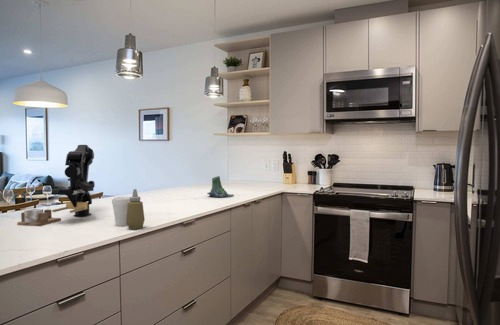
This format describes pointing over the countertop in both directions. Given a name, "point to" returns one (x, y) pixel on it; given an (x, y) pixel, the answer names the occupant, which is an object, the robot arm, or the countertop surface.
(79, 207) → the wooden c-shaped bracket
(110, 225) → the countertop surface
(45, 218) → the display stand
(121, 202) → the foam cup
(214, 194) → the tree stump
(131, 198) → the squeeze bottle
